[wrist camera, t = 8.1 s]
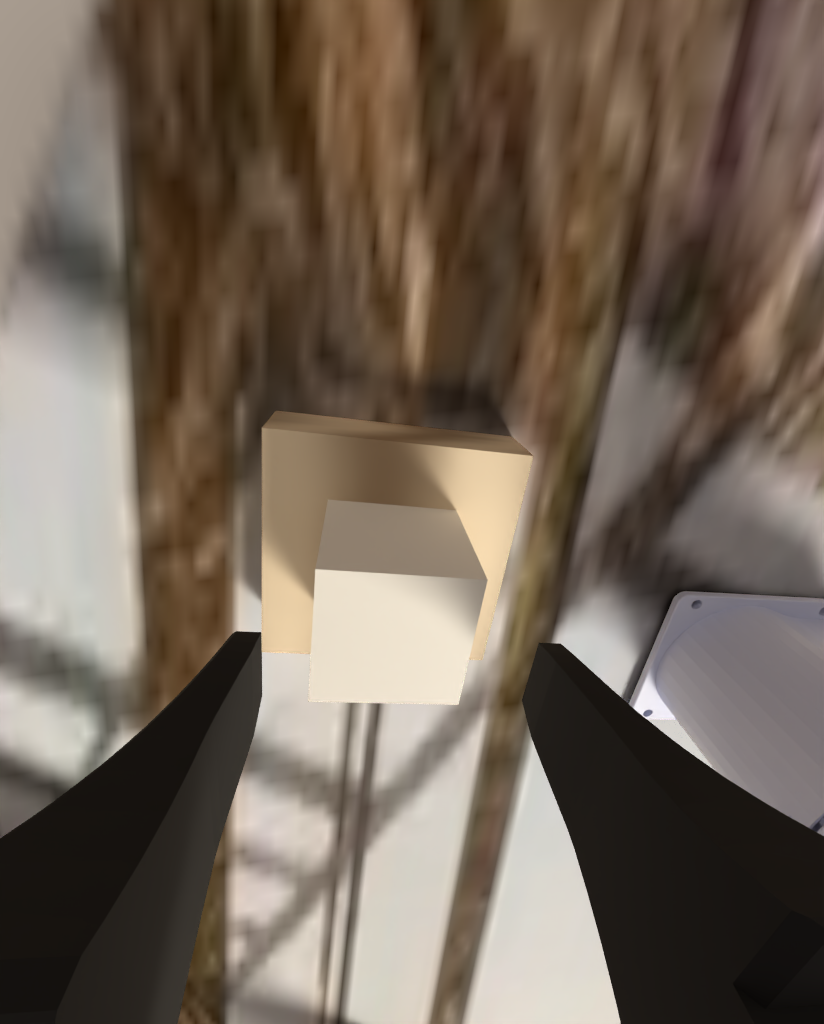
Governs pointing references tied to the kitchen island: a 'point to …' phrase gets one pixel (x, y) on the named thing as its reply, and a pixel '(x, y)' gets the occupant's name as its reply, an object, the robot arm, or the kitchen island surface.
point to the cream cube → (393, 605)
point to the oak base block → (382, 480)
